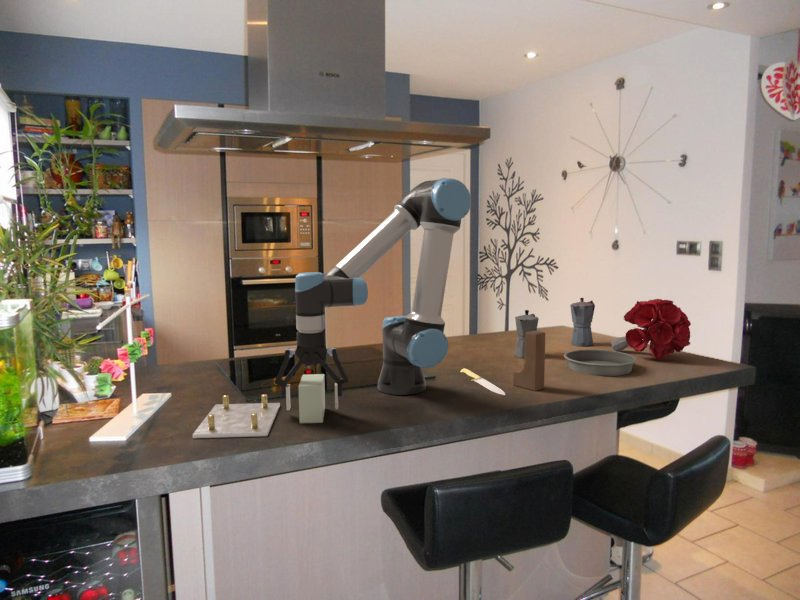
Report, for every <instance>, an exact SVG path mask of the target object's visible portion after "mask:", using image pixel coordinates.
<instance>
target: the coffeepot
mask: <svg viewBox="0 0 800 600" xmlns="http://www.w3.org/2000/svg"><path fill="white" fill-rule="evenodd" d="M529 313H530V310H528V309H525V310H524V314H523V315H522V314H521V315H518V316H515V317H514V318H515V327H516V335H517V339H516V343H515V348H514V349H515V350H514V356H515V357H516V358H519V359H525V339H526V332H530V331H538V324H539V317H538V316H536V315H535V314H534V313H531V314H529Z"/></svg>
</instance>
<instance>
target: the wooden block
mask: <svg viewBox="0 0 800 600" xmlns="http://www.w3.org/2000/svg"><path fill="white" fill-rule="evenodd" d="M545 361H546V332H545V331H538V330H537V331H530V332H526V339H525V358H524V366H523V369H519V370H515V371H513V377H512V378H513V381H512V385H513V386H516V387H519V388H523V389H525V390H526V389H527V390H531V391H532V392H533V391H534V392H536V391H540V390H543V389H545V369H546V368H545V367H546V366H545Z"/></svg>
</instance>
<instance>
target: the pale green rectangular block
mask: <svg viewBox="0 0 800 600" xmlns="http://www.w3.org/2000/svg"><path fill="white" fill-rule="evenodd" d="M300 378H301V379H300V381H299V384H298V408H299V409H298V410H299V411H298V415H299V424H319V423H320V424H321V423H324V417H325V411H326V395H325V394H326V391H325V389H326V387H325V385H326V384H325V383H326V382H325V381H326V380H325V374H324V373H320V374H319V373H317V374H316V373H314V374H309V373H308V374H302V376H301V377H300Z"/></svg>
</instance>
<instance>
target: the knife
mask: <svg viewBox="0 0 800 600" xmlns="http://www.w3.org/2000/svg"><path fill="white" fill-rule="evenodd" d="M460 373H465V374H466V375H467V376H468V377H471V378H473V379H471V382H472V381H474V382H475V383H478V384H479V385H480V386H483V387H484V388H486V389H487V390H489V391H491V392H493V393H496V394H498V395H502V396H506V392H505V391H503V390H502V389H501V388H499V387H498V386H496V385H495V384H493V383H492V382H490V381H489V380H487V379H485V378H483V377H482V376H480V375H478V374H476V373H475V372H473V371H472V370H470V369H468V368H465V367H464V368H462V369H461V370H460Z"/></svg>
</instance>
